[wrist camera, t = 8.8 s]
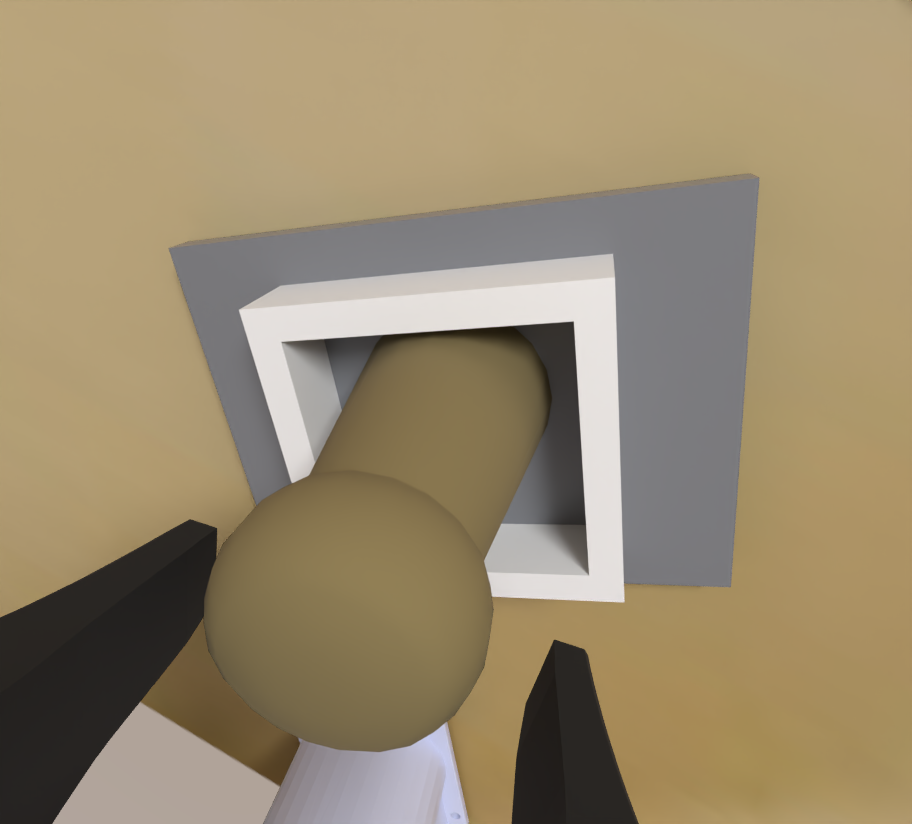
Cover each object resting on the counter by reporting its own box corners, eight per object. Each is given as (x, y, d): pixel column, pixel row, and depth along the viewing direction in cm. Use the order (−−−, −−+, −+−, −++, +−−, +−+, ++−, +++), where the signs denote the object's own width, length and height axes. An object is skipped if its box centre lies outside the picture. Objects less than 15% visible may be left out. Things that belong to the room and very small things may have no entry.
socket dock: (725, 567, 21) (746, 645, 18) (289, 554, 25) (247, 616, 22) (750, 173, 16) (786, 191, 13) (187, 241, 20) (112, 267, 17)
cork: (579, 338, 17) (553, 624, 8) (520, 498, 20) (450, 848, 11) (382, 279, 18) (134, 482, 8) (353, 444, 21) (144, 734, 11)
